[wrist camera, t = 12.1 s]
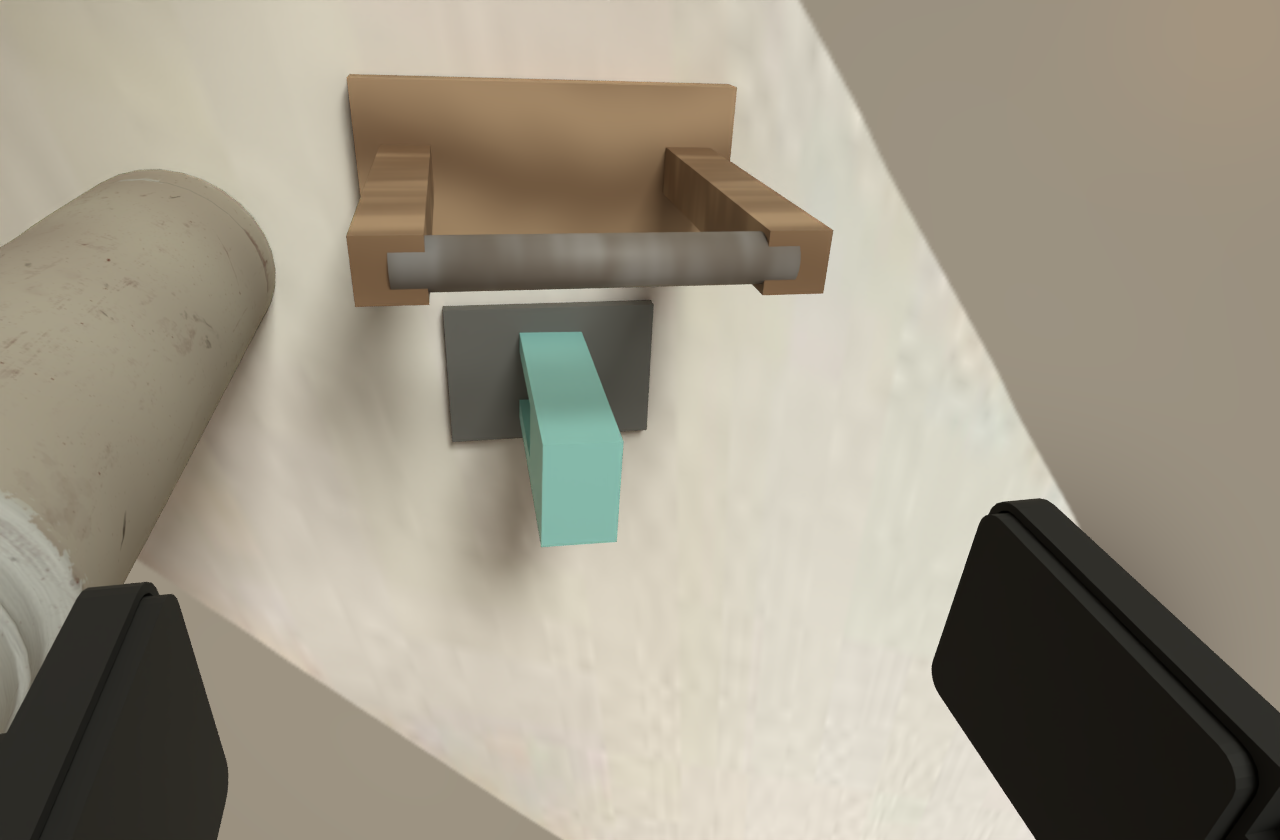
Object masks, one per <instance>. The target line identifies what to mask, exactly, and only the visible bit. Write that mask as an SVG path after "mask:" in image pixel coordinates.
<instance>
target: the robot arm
mask: <svg viewBox="0 0 1280 840" xmlns="http://www.w3.org/2000/svg"><path fill="white" fill-rule="evenodd" d="M932 678H933V682H934V685H935V688H936V690H937V692H938V693H939V695H940V697H941V698H942V700H943V701H944V703H945V704H946V706H947V707H948V709H949V710H950V712H951V713H952V715H953V716H954V718H955V719H956V721H957V722H958V724H959V725H960V727H961V728H962V730H963V731H964V733H965V734H966V736H967V737H968V739H969V740H970V742H971V743H972V745H973V746H974V747H975V749H976V750H977V752H978V753H979V755H980V756H981V758H982V759H983V761H984V762H985V764H986V765H987V767H988V768H989V770H990V771H991V773H992V774H993V776H994V777H995V779H996V780H997V782H998V783H999V785H1000V786H1001V788H1002V789H1003V791H1004V792H1005V794H1006V795H1007V797H1008V798H1009V800H1010V801H1011V803H1012V804H1013V806H1014V807H1015V809H1016V810H1017V812H1018V813H1019V815H1020V816H1021V818H1022V819H1023V821H1024V822H1025V824H1026V825H1027V827H1028V828H1029V830H1030V831H1031V833H1032V834H1033V836H1034V837H1035V839H1036V840H1280V713H1279V712H1278V711H1277V710H1276V709H1275V708H1274V707H1273V706H1272V705H1271V704H1270V703H1269V702H1268V701H1266V700H1265V699H1264V698H1263V697H1262V696H1261V695H1260V694H1259V693H1258V692H1257V691H1255V690H1254V689H1253V688H1252V687H1251V686H1250V685H1249V684H1248V683H1247V682H1246V681H1245V680H1244V679H1242V678H1241V677H1240V676H1239V675H1238V674H1237V673H1236V672H1235V671H1234V670H1233V669H1232V668H1231V667H1230V666H1228V665H1227V664H1226V663H1225V662H1224V661H1223V660H1222V659H1221V658H1220V657H1219V656H1218V655H1216V654H1215V653H1214V652H1213V651H1212V650H1211V649H1210V648H1209V647H1208V646H1207V645H1206V644H1204V643H1203V642H1202V641H1201V640H1200V639H1199V638H1198V637H1197V636H1196V635H1195V634H1194V633H1193V632H1192V631H1190V630H1189V629H1188V628H1187V627H1186V626H1185V625H1184V624H1183V623H1182V622H1181V621H1180V620H1178V619H1177V618H1176V617H1175V616H1174V615H1173V614H1172V613H1171V612H1170V611H1169V610H1168V609H1166V608H1165V607H1164V606H1163V605H1162V604H1161V603H1160V602H1159V601H1158V600H1157V599H1156V598H1155V597H1154V596H1152V595H1151V594H1150V593H1149V592H1148V591H1147V590H1146V589H1145V588H1144V587H1143V586H1141V584H1139V583H1138V582H1137V581H1136V580H1135V579H1134V578H1133V577H1132V576H1131V575H1130V574H1129V573H1127V572H1126V571H1125V570H1124V569H1123V568H1122V567H1121V566H1120V565H1119V564H1118V563H1116V561H1114V560H1113V559H1112V558H1111V557H1110V556H1109V555H1108V554H1107V553H1106V552H1105V551H1103V549H1101V548H1100V547H1099V546H1098V545H1097V544H1096V543H1095V542H1094V541H1093V540H1092V539H1090V537H1088V536H1087V535H1086V534H1085V533H1084V532H1083V531H1082V530H1081V529H1080V528H1079V527H1078V526H1076V525H1075V524H1074V523H1073V522H1072V521H1071V520H1070V519H1069V518H1068V517H1067V516H1066V515H1065V514H1063V513H1062V512H1061V511H1060V510H1059V509H1058V508H1057V507H1056V506H1055V505H1054V504H1052V503H1051V502H1049V501H1048V500H1045V499H1040V498H1038V499H1028V500H1017V501H1006V502H1001V503H997V504H996V505H995V506H994V507H992V509H991V510H990V512H989V514H988V515H986V516H985V517H983V518H982V519H981V521H980V523H979V526H978V529H977V532H976V535H975V538H974V541H973V544H972V546H971V549H970V552H969V555H968V558H967V561H966V564H965V567H964V570H963V573H962V576H961V579H960V582H959V585H958V588H957V591H956V594H955V597H954V600H953V603H952V606H951V609H950V612H949V615H948V618H947V621H946V624H945V627H944V630H943V633H942V636H941V638H940V641H939V644H938V647H937V650H936V653H935V656H934V659H933V663H932ZM227 790H228V767H227V762H226V758H225V755H224V751H223V748H222V745H221V741H220V738H219V735H218V731H217V728H216V725H215V721H214V718H213V715H212V712H211V708H210V705H209V702H208V699H207V695H206V692H205V688H204V685H203V682H202V678H201V675H200V672H199V669H198V665H197V662H196V658H195V655H194V652H193V648H192V645H191V642H190V638H189V635H188V632H187V629H186V625H185V622H184V619H183V615H182V612H181V609H180V606H179V603H178V600H177V598H176V597H175V596H174V595H172V594H167V595H159V593H158V591H157V589H156V587H155V586H154V585H153V584H152V583H149V582H142V583H131V584H121V585H110V586H99V587H89V588H86V589H85V590H83V591H82V592H81V593H80V595H79V596H78V597H77V599H76V601H75V603H74V605H73V606H72V608H71V610H70V612H69V614H68V616H67V618H66V620H65V622H64V624H63V626H62V627H61V629H60V631H59V633H58V635H57V637H56V639H55V641H54V643H53V645H52V647H51V649H50V650H49V652H48V654H47V656H46V658H45V660H44V662H43V664H42V666H41V668H40V670H39V672H38V673H37V675H36V677H35V679H34V681H33V683H32V685H31V687H30V689H29V691H28V693H27V695H26V696H25V698H24V700H23V702H22V704H21V706H20V708H19V710H18V712H17V714H16V716H15V717H14V719H13V721H12V723H11V725H10V727H9V729H8V731H7V733H1V734H0V840H217V837H218V832H219V828H220V824H221V819H222V815H223V810H224V806H225V802H226V797H227Z"/></svg>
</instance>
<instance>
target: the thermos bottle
mask: <svg viewBox="0 0 1280 840" xmlns="http://www.w3.org/2000/svg"><path fill="white" fill-rule="evenodd" d="M274 288H275V265H274V260H273V256H272V251H271V249H270V246H269V244H268V242H267V239H266V237H265V235H264V233H263V232H262V230H261V229H260V227H259V226H258V224H257V223H256V221H255V220H254V218H253V217H252V216H251V215H250V214H249V213H248V212H247V211H246V210H245V209H244V207H243V206H242V205H241V204H240V203H239V202H237V201H236V200H235V199H233V198H232V197H231V196H229V195H228V194H227V193H225V192H224V191H223V190H221V189H219V188H217V187H215V186H214V185H212V184H210V183H208V182H206V181H204V180H202V179H199V178H196V177H193V176H190V175H187V174H184V173H180V172H173V171H167V170H160V169H158V170H137V171H132V172H128V173H123V174H119V175H117V176H115V177H113V178H110V179H108V180H106V181H104V182H102V183H100V184H98V185H97V186H95V187H93V188H92V189H90V190H89V191H87V192H85V193H84V194H82V195H81V196H79V197H77V198H76V199H74V200H73V201H71V202H69V203H68V204H66V205H64V206H63V207H61V208H60V209H58V210H56V211H55V212H53V213H52V214H50V215H48V216H47V217H45V218H44V219H42V220H41V221H39V222H37V223H36V224H35V225H33V226H32V227H30V228H29V229H28V230H26V231H25V232H24V233H22V234H21V235H19V236H18V237H16V238H15V239H13V240H12V241H10V242H9V243H7V244H5V245H4V246H2V247H0V734H1V733H7V731H8V729H9V727H10V725H11V723H12V721H13V719H14V717H15V716H16V714H17V712H18V710H19V708H20V706H21V704H22V702H23V700H24V698H25V696H26V695H27V693H28V691H29V689H30V687H31V685H32V683H33V681H34V679H35V677H36V675H37V673H38V672H39V670H40V668H41V666H42V664H43V662H44V660H45V658H46V656H47V654H48V652H49V650H50V649H51V647H52V645H53V643H54V641H55V639H56V637H57V635H58V633H59V631H60V629H61V627H62V626H63V624H64V622H65V620H66V618H67V616H68V614H69V612H70V610H71V608H72V606H73V605H74V603H75V601H76V599H77V597H78V596H79V595H80V593H81V592H82V591H83V590H85V589H86V588H89V587H99V586H110V585H121V584H124V582H125V580H126V578H127V576H128V574H129V572H130V571H131V569H132V567H133V565H134V563H135V561H136V559H137V557H138V555H139V554H140V552H141V550H142V548H143V546H144V544H145V542H146V540H147V539H148V537H149V535H150V533H151V531H152V529H153V527H154V525H155V523H156V522H157V520H158V518H159V516H160V514H161V512H162V510H163V508H164V506H165V504H166V502H167V500H168V499H169V497H170V495H171V493H172V491H173V489H174V487H175V485H176V483H177V481H178V479H179V477H180V476H181V474H182V472H183V470H184V468H185V466H186V464H187V462H188V460H189V458H190V456H191V454H192V453H193V451H194V449H195V447H196V445H197V443H198V441H199V439H200V437H201V435H202V433H203V432H204V430H205V428H206V426H207V424H208V422H209V420H210V418H211V416H212V414H213V412H214V410H215V409H216V407H217V405H218V403H219V401H220V399H221V397H222V395H223V393H224V391H225V389H226V387H227V386H228V384H229V382H230V380H231V378H232V376H233V374H234V372H235V370H236V368H237V366H238V364H239V363H240V361H241V359H242V357H243V355H244V353H245V351H246V349H247V347H248V345H249V343H250V341H251V340H252V338H253V336H254V334H255V332H256V330H257V328H258V326H259V324H260V322H261V320H262V318H263V317H264V315H265V313H266V311H267V309H268V307H269V305H270V303H271V300H272V296H273V292H274Z"/></svg>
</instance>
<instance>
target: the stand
mask: <svg viewBox="0 0 1280 840" xmlns="http://www.w3.org/2000/svg"><path fill="white" fill-rule="evenodd" d="M347 85H348V93H349V102H350V111H351V119H352V128H353V137H354V145H355V154H356V163H357V171H358V180H359V189H360V200H359V203H358V206H357V208H356V211H355V214H354V217H353V219H352V222H351V225H350V227H349V230H348V233H347V236H346V238H347V246H348V254H349V261H350V269H351V277H352V285H353V293H354V301H355V307H366V306H401V305H429V295H430V292H464V291H503V290H542V289H581V288H620V287H659V286H698V285H736V284H752V285H753V286H754V287H755V288H756V289H757V290H758V291H759V292H760V293H761V294H762V295H784V294H819V293H823V291H824V285H825V279H826V272H827V266H828V260H829V254H830V247H831V241H832V235H833V230H832V229H831V228H829V227H828V226H826V225H825V224H823V223H822V222H820V221H819V220H817V219H816V218H814V217H813V216H811V215H810V214H808V213H807V212H805V211H804V210H802V209H801V208H799V207H798V206H796V205H795V204H793V203H792V202H790V201H789V200H787V199H786V198H784V197H783V196H781V195H780V194H778V193H777V192H775V191H774V190H772V189H771V188H769V187H768V186H766V185H765V184H763V183H762V182H760V181H759V180H757V179H756V178H754V177H753V176H751V175H750V174H748V173H747V172H745V171H744V170H742V169H741V168H739V167H738V166H736V165H735V164H733V163H732V162H730V155H731V145H732V134H733V123H734V113H735V102H736V92H737V87H734V86H732V85H729V84H702V83H664V82H626V81H587V80H549V79H511V78H473V77H435V76H397V75H359V74H350V75H349V76H348V77H347Z"/></svg>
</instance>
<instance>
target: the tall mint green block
mask: <svg viewBox="0 0 1280 840" xmlns="http://www.w3.org/2000/svg"><path fill="white" fill-rule="evenodd" d="M520 357H521V362H522V367H523V372H524V377H525V382H526V387H527V392H528V397H529V400H519V418H520V424H521V429H522V435H523V441H524V447H525V453H526V459H527V465H528V471H529V477H530V483H531V489H532V495H533V501H534V507H535V513H536V519H537V525H538V531H539V536H540V542H541V547H549V546H564V545H578V544H592V543H607V542H617V528H618V514H619V499H620V485H621V471H622V456H623V439H622V437H621V434H620V431H619V429H618V426H617V423H616V421H615V418H614V416H613V413H612V410H611V408H610V405H609V402H608V400H607V397H606V394H605V392H604V389H603V387H602V384H601V381H600V379H599V376H598V373H597V371H596V368H595V366H594V363H593V360H592V358H591V355H590V352H589V350H588V347H587V344H586V342H585V339H584V337H583V334H582V332H532V333H520Z"/></svg>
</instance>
